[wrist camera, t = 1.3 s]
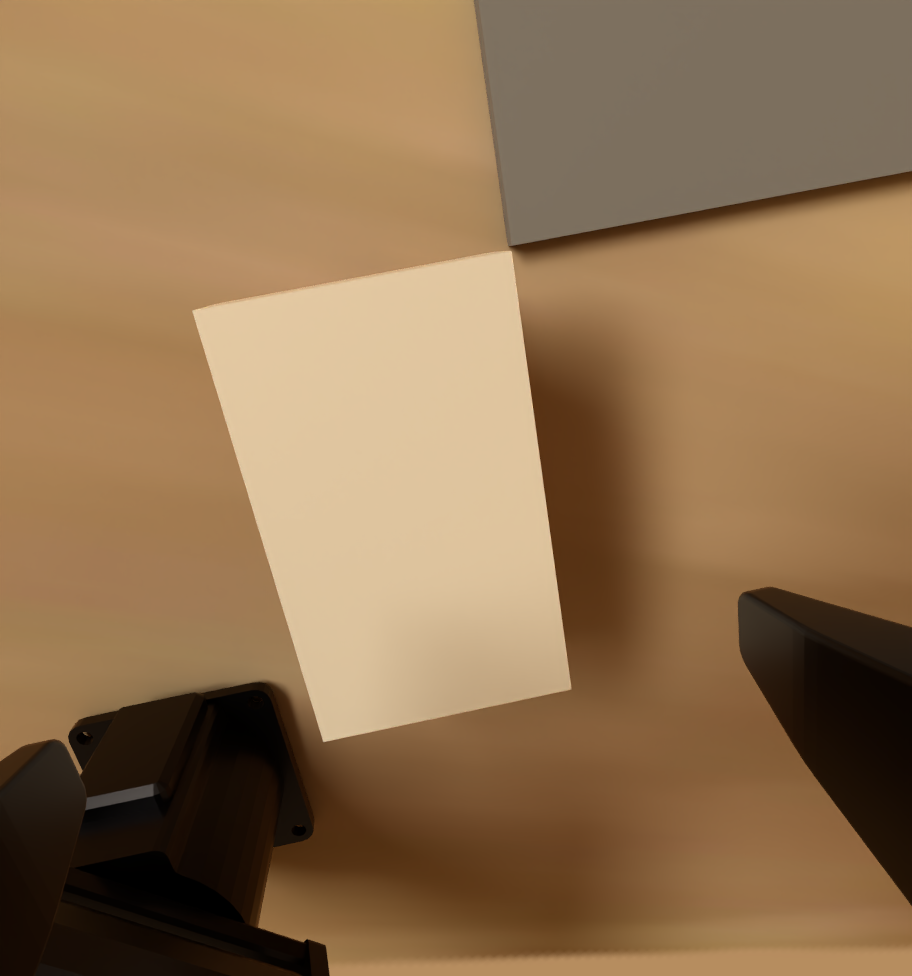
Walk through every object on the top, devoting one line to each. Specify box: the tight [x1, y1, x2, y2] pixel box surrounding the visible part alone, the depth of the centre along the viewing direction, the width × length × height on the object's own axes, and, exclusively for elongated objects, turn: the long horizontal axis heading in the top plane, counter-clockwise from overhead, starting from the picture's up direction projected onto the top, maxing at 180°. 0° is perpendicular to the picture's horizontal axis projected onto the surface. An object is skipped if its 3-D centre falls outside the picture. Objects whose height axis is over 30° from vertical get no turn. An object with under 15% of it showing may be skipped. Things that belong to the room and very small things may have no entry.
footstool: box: [193, 251, 571, 742], centre depth 17 cm, size 10×6×6 cm, turn 10°
